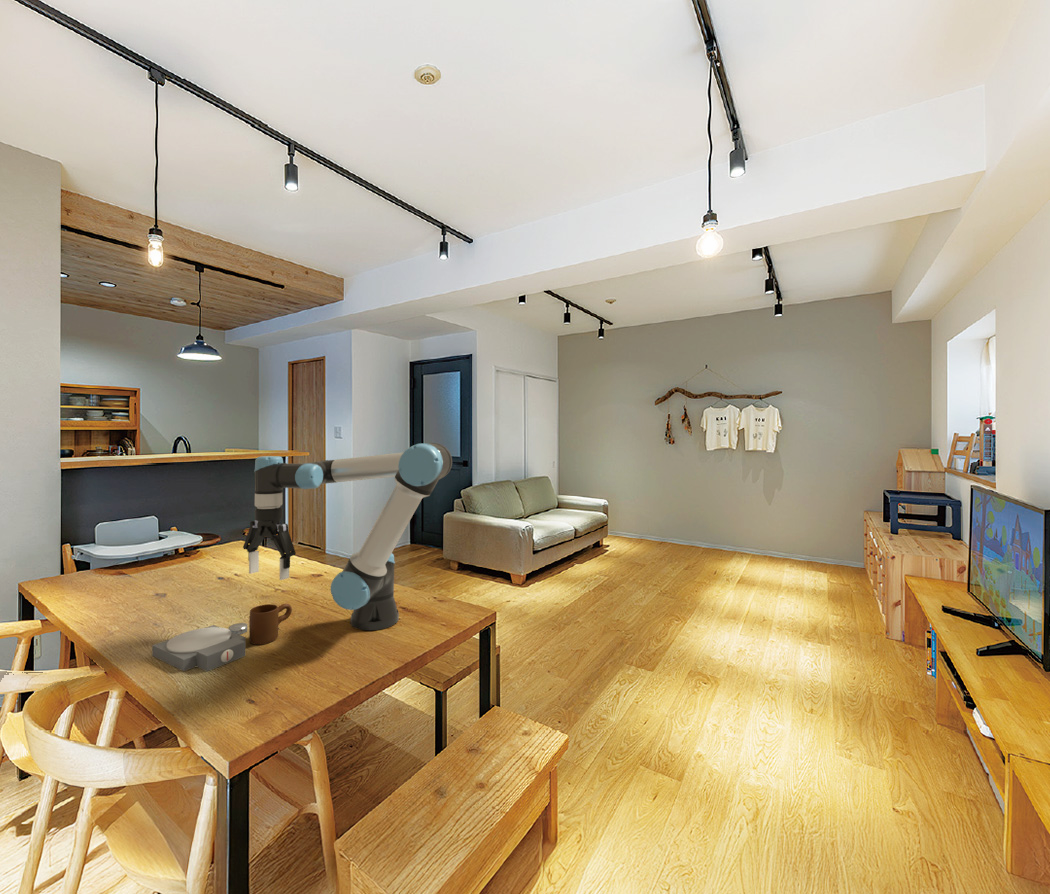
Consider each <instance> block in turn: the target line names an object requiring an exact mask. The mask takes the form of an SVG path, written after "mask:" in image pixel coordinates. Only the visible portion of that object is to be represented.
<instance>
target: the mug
mask: <svg viewBox="0 0 1050 894" xmlns="http://www.w3.org/2000/svg"><path fill="white" fill-rule="evenodd" d="M285 609H286V610H285ZM284 610H285V613H284V614H282V615H279V613H280V612H282V611H284ZM292 611H293V608H292V605H290V604H289V603H282V604H281V605H279V606H278V605H277V604H273V603H271V604H270V603H269V604H268V603H267V604H261V605H256V606H254V607H252V608H251V609H250V611H249V619H248V621H249V622H248V623H249V627H248V629H249V630H248V631H249V642H250V643H251V644H253V645H258V646H259V645H261V646H262V645H266V644H270V643H272V642H274V641H276V640H277V639H278V637H279V625H280V624H281V623H282V622H284V621H285V620H287V619H288V618H289V617H290V616H291V614H292Z"/></svg>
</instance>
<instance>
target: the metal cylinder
mask: <svg viewBox="0 0 1050 894" xmlns="http://www.w3.org/2000/svg"><path fill="white" fill-rule="evenodd" d="M227 629H229V630H230V631H231V632H233V633H236V634H238V635H241V636H242V635H243V634H245V633H247V632H248V623H245V622H239V623H233V624H231V625H229V626H228V628H227Z"/></svg>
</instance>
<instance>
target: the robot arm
mask: <svg viewBox="0 0 1050 894" xmlns="http://www.w3.org/2000/svg"><path fill="white" fill-rule="evenodd" d="M254 461H255V462H254V463H255V464H254V470H253V471H254V487H255V488H254V507H255V508H254V520H251V521H250V522H249V529H248V532H247V534H246V538H245V541H244V543H243V547H242V549H243V550H246V552H247V553H248V560H247V561H248V573H249V574H250V575H251V574H254V573H259V571H260V569H259V568H260V566H259V565H260V563H259V562H260V560H259V559H260V558H259V557H260V556H259V553H260V551H259V547H260V545H261V543H262V542H263V541H264V539H265V538H268V539H270V540H271V541H273V543H274V545H275V547H276V549H277V551H278V552H279V555H280V557H279V581H283V580H286V579H289V578H290V568H291V557H294V556H296V555H297V553H296V550H295V547H294V544H293V540H292V538H291V535H290V532H289V525H288V523H282V524H281V520H282V519H283V518H284V517H283V511H284V510H283V507H282V506H283V489H303V490H310V489H311V490H312V489H313V490H315V489H317V488H319V487H320V486H321V485H325V484H335V483H343V482H353V481H363V480H366V481H367V480H375V479H377V480H378V479H385V478H386V479H387V478H394V481H395V486H394V489H392V491H391V493H390V495H389V497H388V499H387V501H386V503H385V504H384V506H383V508H382V510H381V512H380V513H379V516H378V517H377V519H376V521H375V522H374V525H373V526H372V528H371V530H370V531H369V534H368V535H367V537H366V538H365V541H364V543H363V544H362V546H361V548H360V550H359V552H354V553H352V554H351V556H350V557H349V559H348V560H347V562H346V564H345V566H344V568H343V569H342V571H341V572H338V573H337V574H336V576H335V577H334V578H333V580H332V581H331V583H330V593H331V596H332V599H333V601H334V602H335V604H337V606H339V607H340V608H343V609H345V610H348V611H352V613H351V616H350V626H351V627H353V628H354V629H357V630H361V631H378V630H384V629H388V628H390V627H393V626H394V625H396V624H397V623H398V622H399V620H400V617H399V616H400V613H399V610H398V609H397V608H398V607H397V603H396V601H395V595H394V593H395V592H394V590H395V564H396V562H395V554H394V553H393V551H394V549H395V548H396V547H397V544H398V543H399V540H401V537H402V536H403V534H404V532H405V530H406V528H407V526H408V525H409V523H410V522H411V519H412V518H413V515H414V514H415V512H416V510H417V509H418V507H419V505H420V503H421V501H422V499H424V498H427V497H430V496H431V494H432V493H433V491H434V489H435V487H436V485H437V483H438V482H439V480H441V479H443V478H445V477H446V476H447V475H448V474H449V473H450V472H451V469H452V466H453V457H452V454H451V452H450V451H449V449H448V448H447V447H446V446H444V445H443V444H440V443H436V442H430V443H424V442H423V443H422V442H421V443H416V444H414V445H412V446H410V447H408V448H407V449H405V450H404V451H403V452H396V453H386V454H377V455H376V454H375V455H368V456H367V455H366V456H357V457H347V458H339V459H329V460H328V459H327V460H319V461H311V462H302V463H287V462H286V463H285V462H284V460H283V457H282V456H279V455H277V456H275V455H267V456H266V455H263V456H258V457H257V458H256V459H255V460H254ZM397 621H398V622H397ZM395 623H396V624H395ZM392 625H393V626H392Z"/></svg>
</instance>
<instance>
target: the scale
mask: <svg viewBox="0 0 1050 894" xmlns="http://www.w3.org/2000/svg"><path fill="white" fill-rule="evenodd" d="M246 644H247V643H246V637H245V636H244V635H242V634H241V635H238V634H236V633H233V632H231V631H230V630H229V629H228V628H225V627H222V626H221V627H220V626H217V625H214V624H212V625H209V626H207V627H202V628H196V629H191V630H188V631H185V632H182V633H180V634H178V635H175V636H173V637H171V638H169V639H167V640H164V641H161V642H157V643H154V644H152V645H151V652H152V653H151V656H152V657H153V658H156V659H158V660H160V661H162V662H164V663H166V664H168V665H170V666H172V667H173V668H176V669H178V670H180V671H183V672H186V671H188V670H191V669H193V668H196V667H197V668H199V669H201V670H203V671H205V672H210V671H212V670H215V669H217V668H219V667H221V666H224V665H226V664H229V663H231V662H234V661H236V660H239V659H242V658H244V657H246Z"/></svg>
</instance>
